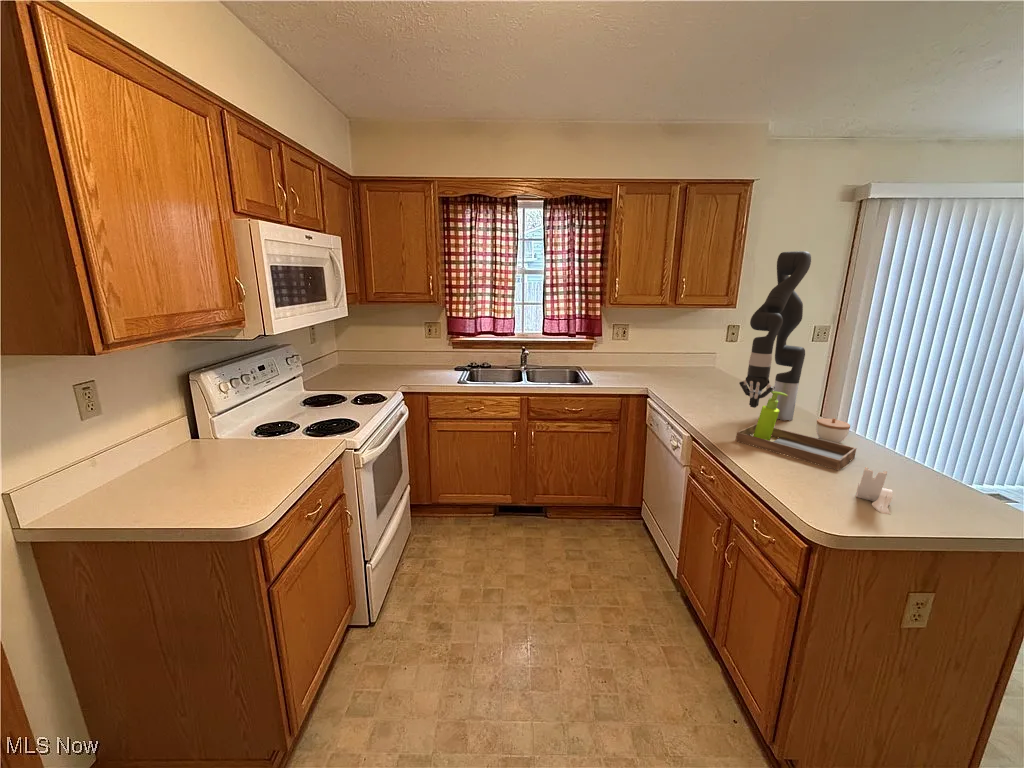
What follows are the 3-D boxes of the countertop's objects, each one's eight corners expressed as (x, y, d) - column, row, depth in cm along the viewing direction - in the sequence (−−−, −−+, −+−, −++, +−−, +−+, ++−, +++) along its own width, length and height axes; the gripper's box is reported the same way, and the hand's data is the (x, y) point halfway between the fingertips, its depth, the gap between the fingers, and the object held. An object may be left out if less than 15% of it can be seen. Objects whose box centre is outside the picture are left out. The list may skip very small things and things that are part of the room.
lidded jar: (839, 438, 177) (844, 415, 175) (851, 447, 167) (856, 424, 165) (809, 435, 180) (813, 413, 178) (819, 444, 170) (823, 421, 168)
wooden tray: (755, 431, 183) (756, 423, 183) (854, 457, 158) (856, 448, 157) (735, 440, 172) (736, 432, 172) (838, 470, 147) (840, 460, 146)
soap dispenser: (773, 444, 170) (789, 396, 163) (754, 440, 172) (769, 392, 165) (770, 437, 176) (786, 391, 169) (752, 434, 178) (766, 387, 171)
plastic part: (888, 501, 127) (897, 463, 124) (891, 515, 119) (900, 475, 116) (856, 493, 131) (864, 457, 129) (856, 506, 124) (864, 468, 121)
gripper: (782, 366, 168) (775, 409, 172) (746, 360, 178) (740, 401, 182) (774, 368, 163) (766, 412, 167) (738, 362, 173) (732, 404, 177)
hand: (753, 407), depth 175 cm, fingers closed
